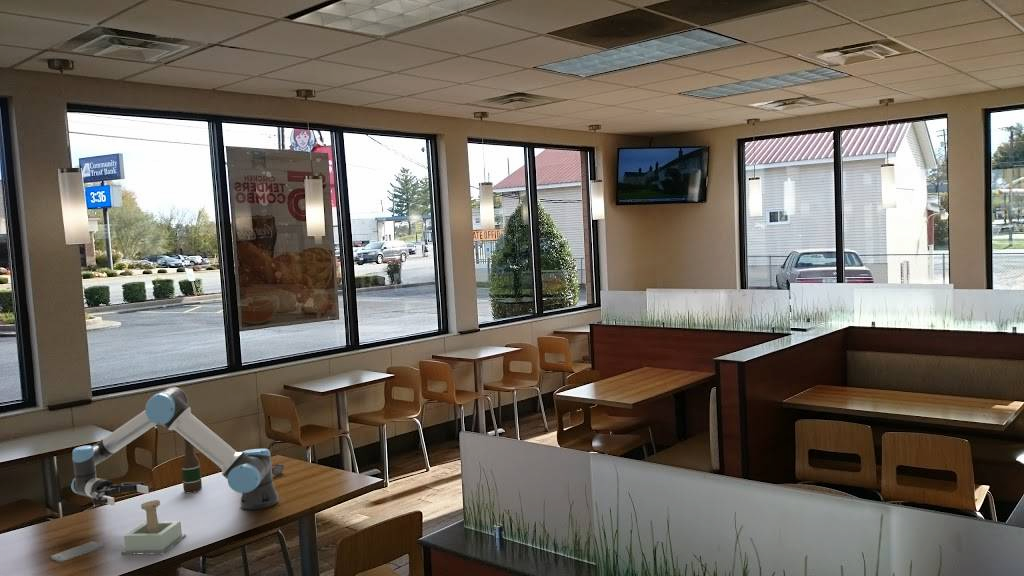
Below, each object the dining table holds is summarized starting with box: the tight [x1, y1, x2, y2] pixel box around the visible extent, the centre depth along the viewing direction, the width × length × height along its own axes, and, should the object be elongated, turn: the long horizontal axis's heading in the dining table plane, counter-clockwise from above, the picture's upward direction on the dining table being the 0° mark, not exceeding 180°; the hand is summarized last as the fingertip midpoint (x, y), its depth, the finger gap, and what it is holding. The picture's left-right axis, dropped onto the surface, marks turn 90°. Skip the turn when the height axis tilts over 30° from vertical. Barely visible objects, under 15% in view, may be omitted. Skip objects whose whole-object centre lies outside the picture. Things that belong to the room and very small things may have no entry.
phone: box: [50, 540, 105, 563], centre depth 295 cm, size 8×16×1 cm, turn 144°
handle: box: [140, 499, 161, 533], centre depth 296 cm, size 5×6×15 cm
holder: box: [120, 520, 187, 555], centre depth 297 cm, size 16×16×6 cm
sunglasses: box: [271, 463, 284, 477], centre depth 379 cm, size 16×17×5 cm
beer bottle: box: [181, 438, 203, 493], centre depth 360 cm, size 8×8×24 cm
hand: (130, 495), depth 303 cm, fingers open, 13 cm apart
